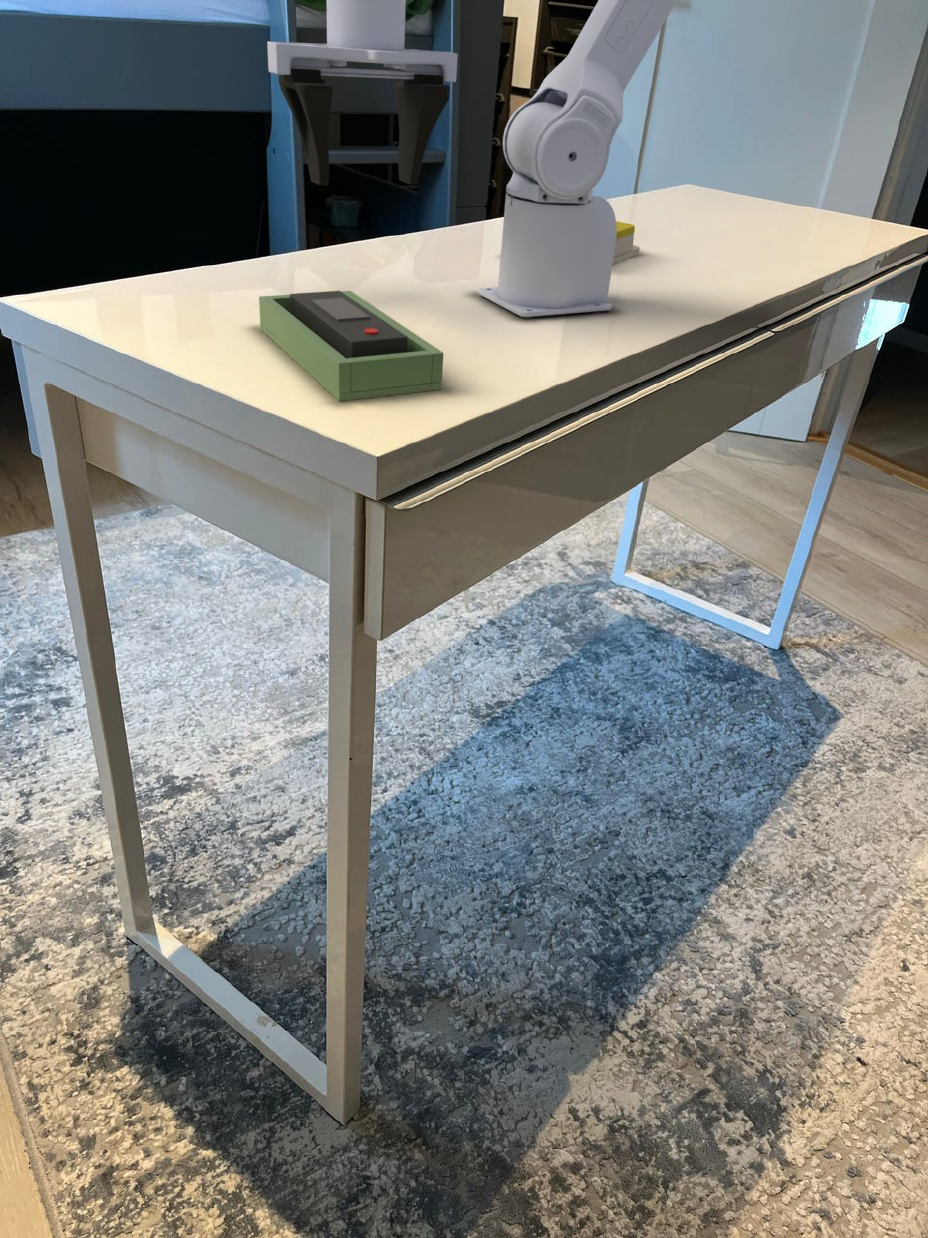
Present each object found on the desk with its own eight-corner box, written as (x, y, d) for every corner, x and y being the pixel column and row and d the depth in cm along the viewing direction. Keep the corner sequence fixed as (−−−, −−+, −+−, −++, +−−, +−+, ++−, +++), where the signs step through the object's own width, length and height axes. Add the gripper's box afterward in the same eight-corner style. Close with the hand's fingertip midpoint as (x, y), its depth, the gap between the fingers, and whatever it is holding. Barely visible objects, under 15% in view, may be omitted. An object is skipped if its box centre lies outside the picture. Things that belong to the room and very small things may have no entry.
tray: (350, 322, 74) (350, 290, 72) (441, 389, 62) (443, 352, 61) (260, 329, 71) (258, 296, 69) (339, 401, 59) (339, 362, 58)
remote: (290, 328, 70) (289, 291, 68) (340, 324, 71) (339, 288, 70) (352, 380, 61) (352, 339, 59) (406, 374, 63) (408, 334, 61)
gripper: (288, -34, 60) (295, 192, 68) (481, -16, 66) (468, 190, 74) (254, -35, 65) (264, 176, 73) (437, -18, 71) (429, 175, 79)
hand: (364, 182), depth 74 cm, fingers open, 7 cm apart
